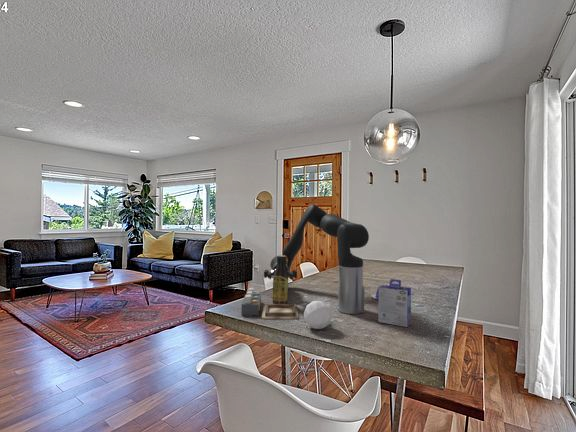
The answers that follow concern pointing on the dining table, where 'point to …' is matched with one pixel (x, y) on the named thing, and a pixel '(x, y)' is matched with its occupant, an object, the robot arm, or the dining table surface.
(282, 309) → the square beige tray
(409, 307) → the ink cartridge box
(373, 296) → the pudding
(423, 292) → the dining table surface
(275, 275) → the sauce bottle
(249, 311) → the breaker bank
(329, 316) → the faceted ball with stub
